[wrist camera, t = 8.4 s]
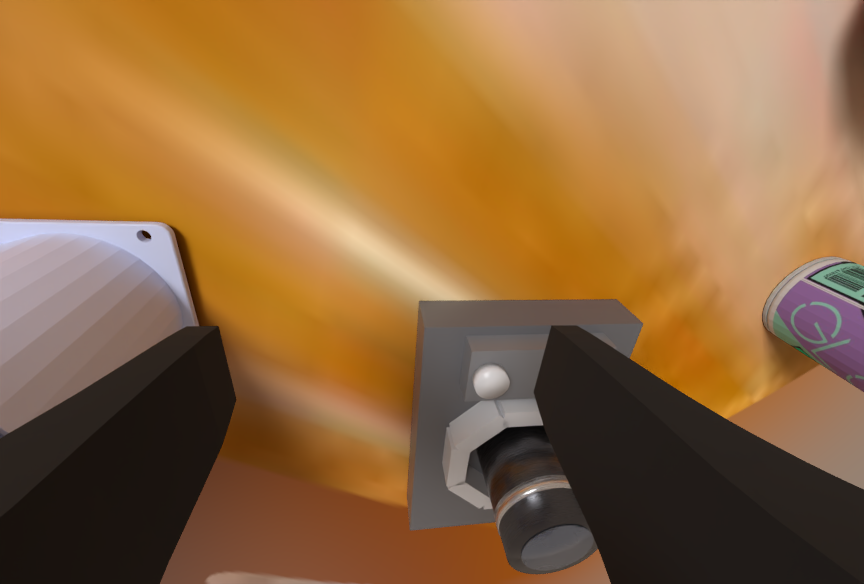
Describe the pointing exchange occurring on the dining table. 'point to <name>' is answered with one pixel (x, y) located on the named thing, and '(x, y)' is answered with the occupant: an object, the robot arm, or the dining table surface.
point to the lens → (533, 502)
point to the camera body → (484, 391)
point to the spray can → (822, 315)
